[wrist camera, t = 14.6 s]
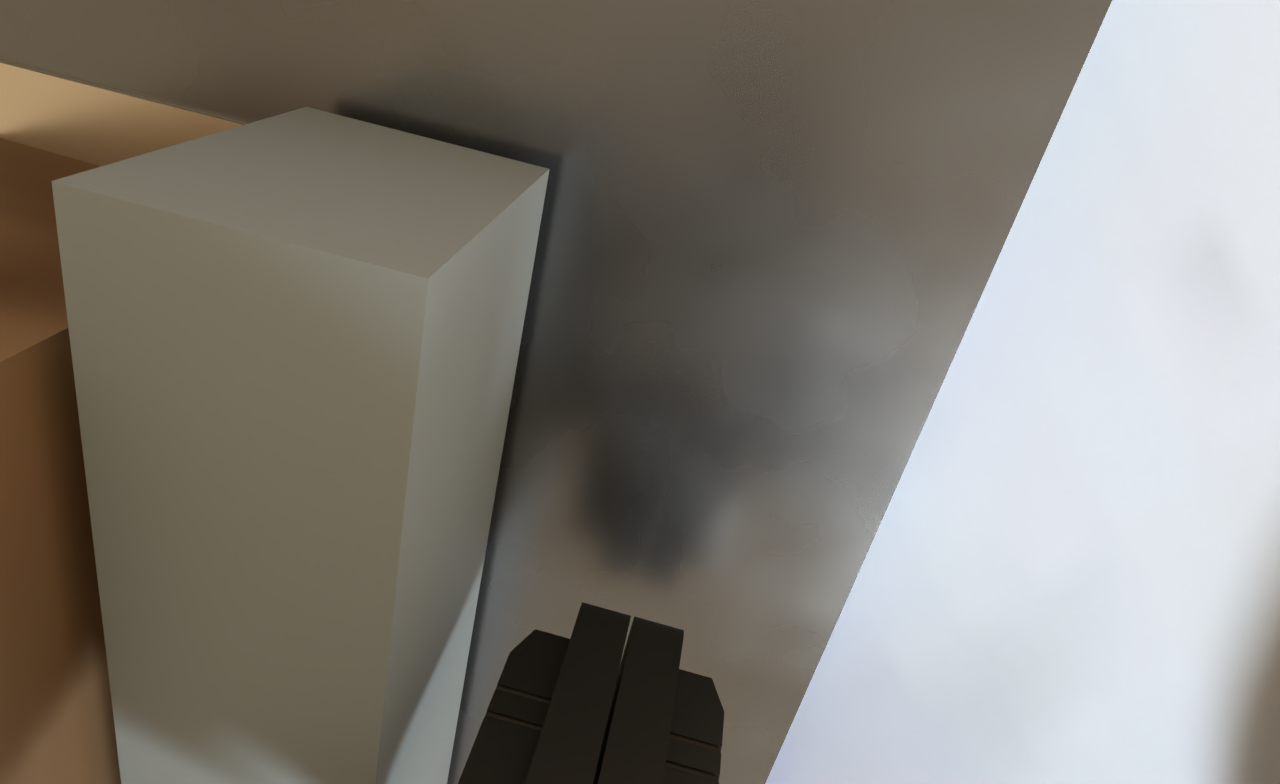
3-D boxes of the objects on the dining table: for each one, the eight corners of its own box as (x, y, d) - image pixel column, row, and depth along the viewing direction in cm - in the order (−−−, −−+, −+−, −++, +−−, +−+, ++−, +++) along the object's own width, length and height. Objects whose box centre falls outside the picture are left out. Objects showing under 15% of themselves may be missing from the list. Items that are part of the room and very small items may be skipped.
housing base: (1123, -142, 9) (1592, -289, 4) (669, 942, 20) (634, 1304, 14) (-711, -590, 10) (-2458, -1254, 4) (-219, 699, 20) (-574, 962, 15)
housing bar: (548, 168, 10) (429, 278, 6) (437, 839, 16) (343, 1087, 12) (306, 107, 10) (51, 182, 6) (286, 797, 16) (150, 1033, 12)
